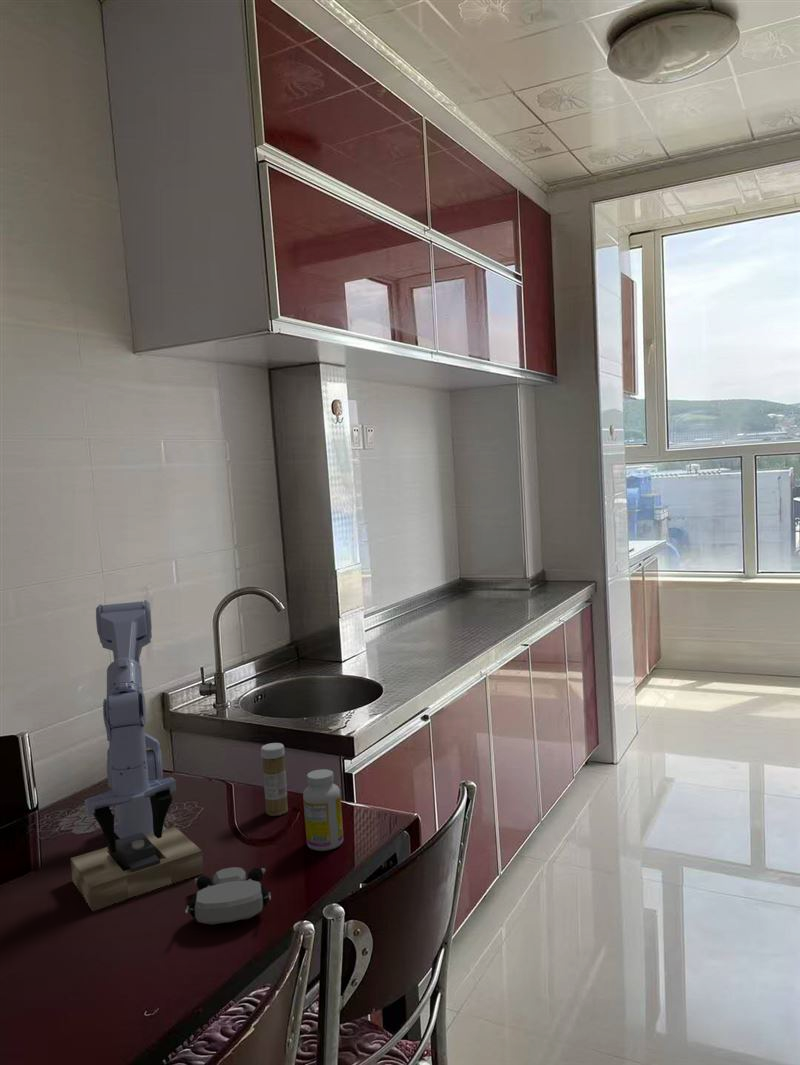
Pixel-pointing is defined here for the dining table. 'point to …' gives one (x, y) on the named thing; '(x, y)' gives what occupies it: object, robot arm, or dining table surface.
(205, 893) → the robot toy
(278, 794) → the sprinkles bottle
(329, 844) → the supplement bottle
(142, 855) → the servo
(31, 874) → the dining table surface
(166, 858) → the tan slotted block
